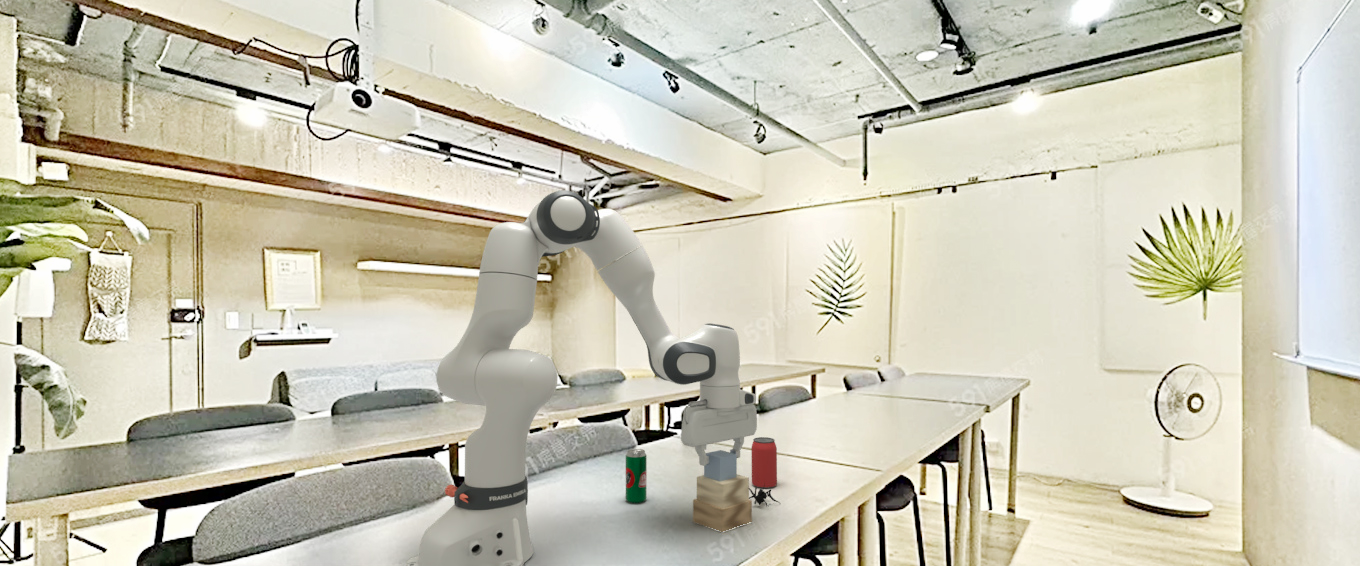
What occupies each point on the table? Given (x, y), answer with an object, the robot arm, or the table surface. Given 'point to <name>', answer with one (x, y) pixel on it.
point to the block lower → (722, 515)
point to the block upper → (723, 491)
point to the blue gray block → (721, 465)
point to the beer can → (764, 462)
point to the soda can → (636, 476)
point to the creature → (761, 496)
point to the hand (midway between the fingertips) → (720, 461)
